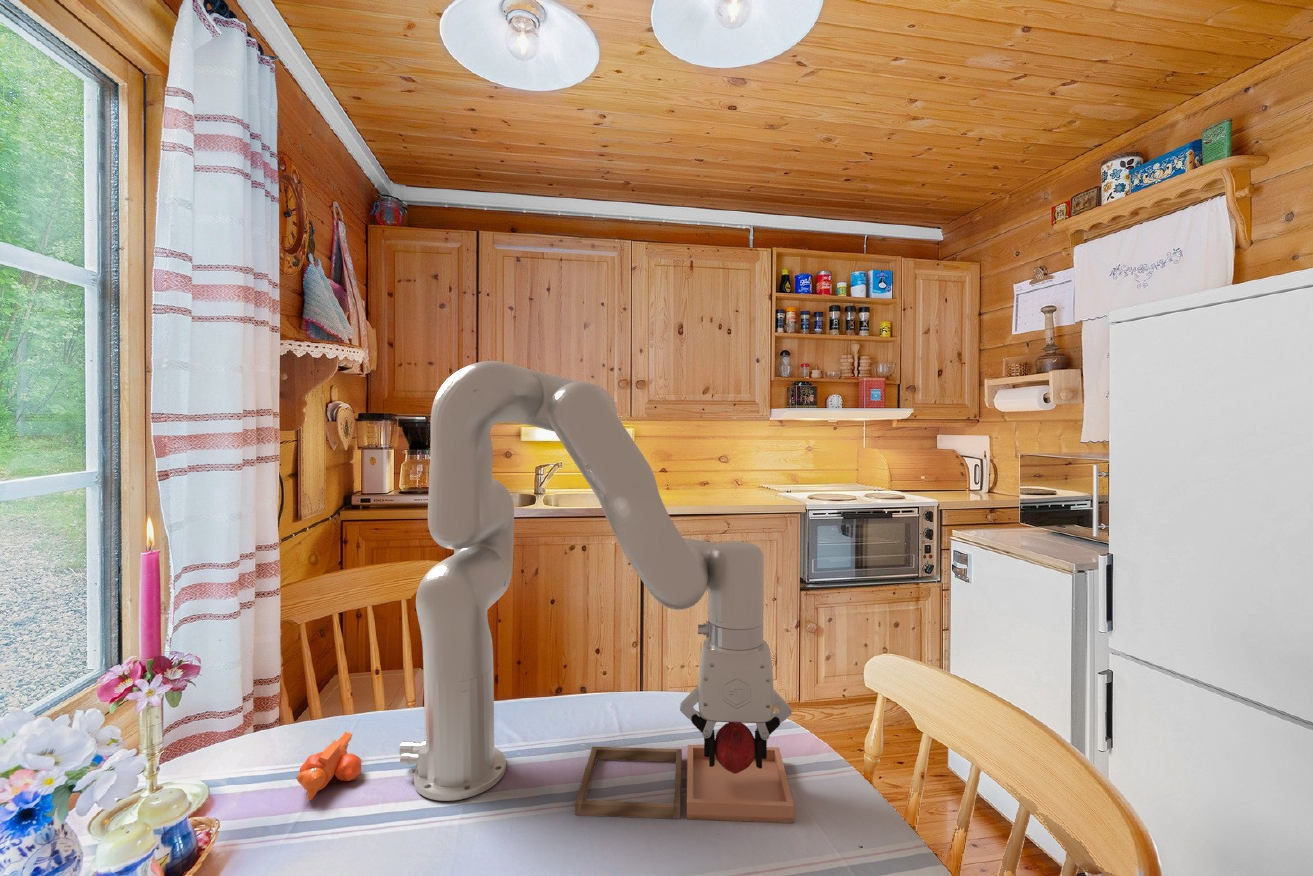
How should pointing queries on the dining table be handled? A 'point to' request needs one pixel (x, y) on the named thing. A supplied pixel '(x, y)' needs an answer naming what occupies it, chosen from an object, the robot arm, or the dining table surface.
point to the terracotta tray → (738, 790)
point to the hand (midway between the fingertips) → (734, 760)
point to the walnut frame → (621, 806)
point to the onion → (735, 747)
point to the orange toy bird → (329, 766)
